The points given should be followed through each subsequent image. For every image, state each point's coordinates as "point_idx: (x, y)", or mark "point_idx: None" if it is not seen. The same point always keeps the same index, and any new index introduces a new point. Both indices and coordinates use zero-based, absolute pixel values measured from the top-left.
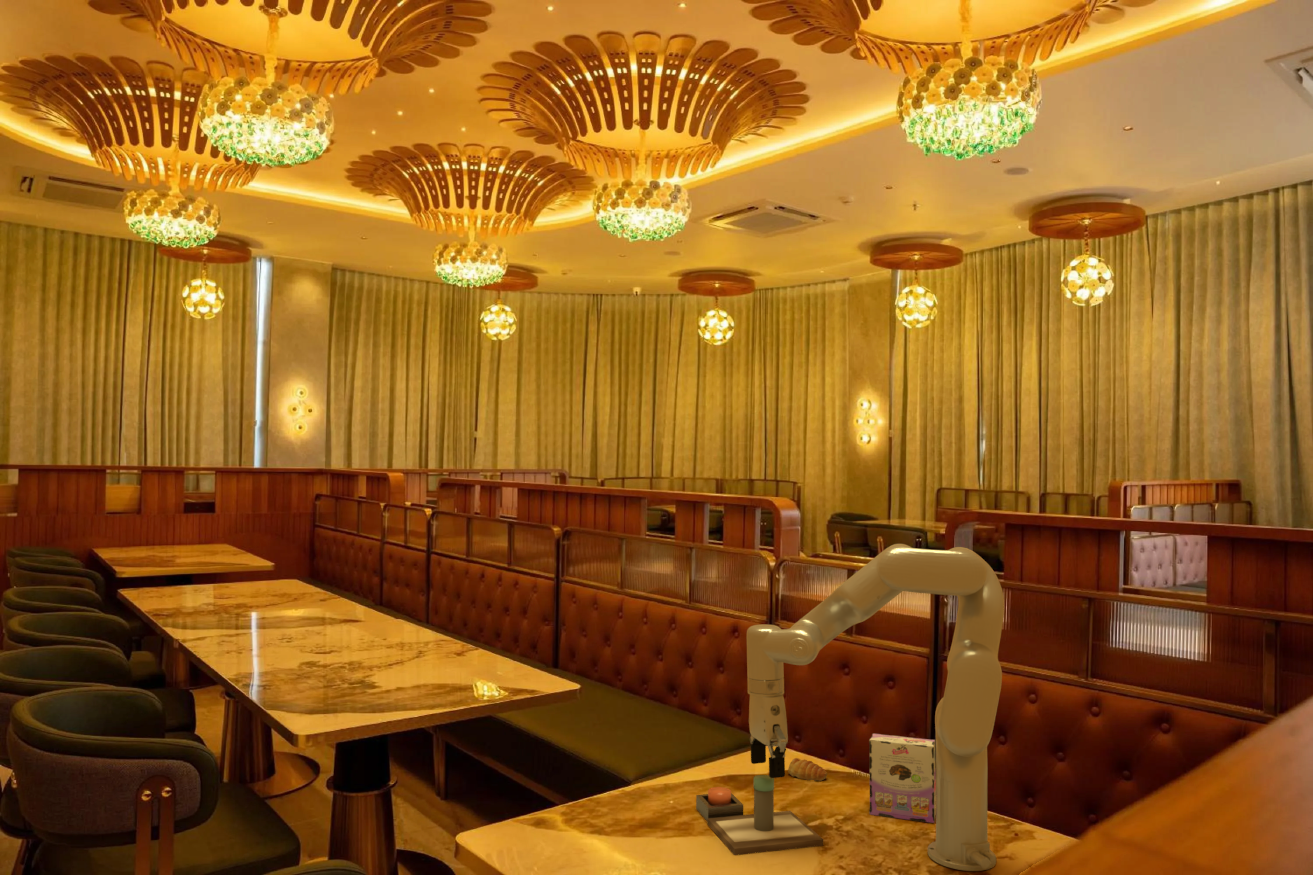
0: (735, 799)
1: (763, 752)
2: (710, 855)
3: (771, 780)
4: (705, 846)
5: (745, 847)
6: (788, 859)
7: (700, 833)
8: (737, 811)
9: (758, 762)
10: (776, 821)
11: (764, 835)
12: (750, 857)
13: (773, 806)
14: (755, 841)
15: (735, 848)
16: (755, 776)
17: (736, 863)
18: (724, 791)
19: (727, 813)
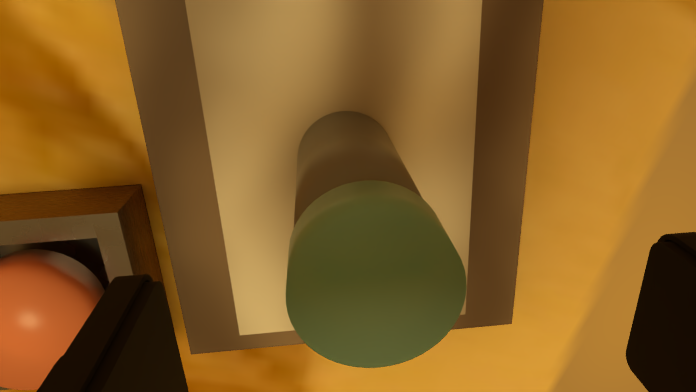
0: (32, 231)
1: (128, 383)
2: (480, 378)
3: (456, 253)
4: (405, 379)
5: (513, 284)
6: (611, 130)
7: (287, 375)
8: (136, 228)
9: (176, 351)
10: (276, 66)
11: (434, 183)
12: (540, 262)
13: (384, 149)
14: (471, 232)
15: (511, 319)
16: (320, 344)
17: (567, 317)
18: (23, 316)
19: (148, 271)
